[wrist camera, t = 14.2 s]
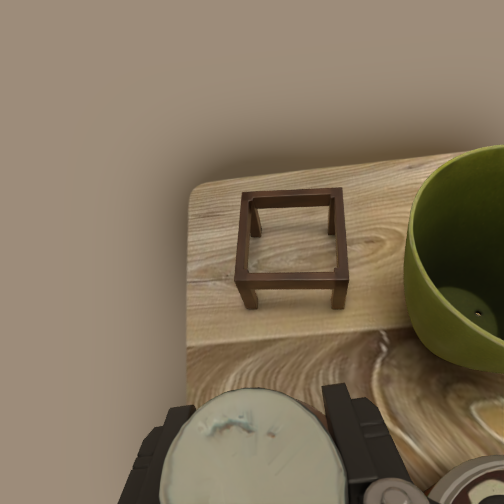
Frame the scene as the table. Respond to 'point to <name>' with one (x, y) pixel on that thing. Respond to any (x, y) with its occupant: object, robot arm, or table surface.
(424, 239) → the flower pot
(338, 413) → the robot arm
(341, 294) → the open square stand
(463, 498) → the food container
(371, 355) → the table surface
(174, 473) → the sauce bottle
